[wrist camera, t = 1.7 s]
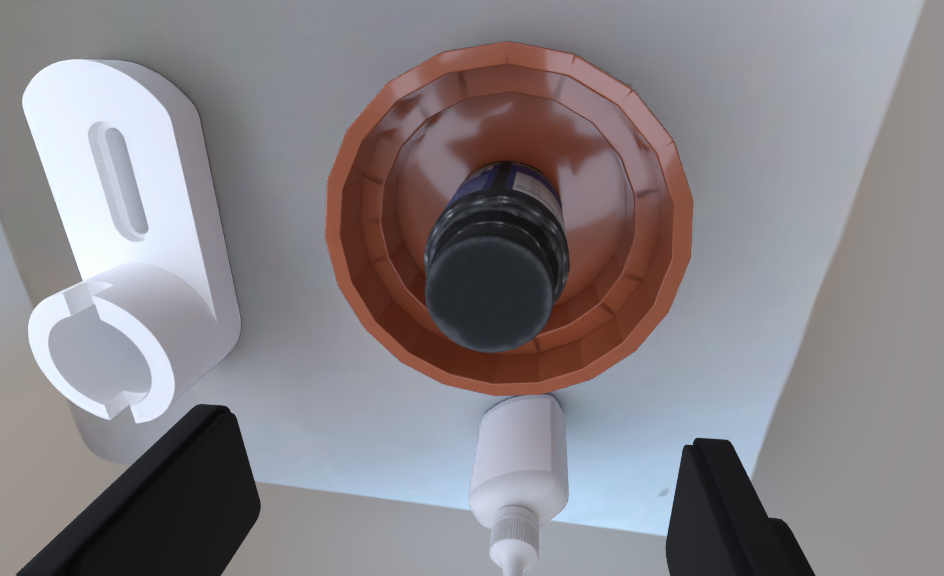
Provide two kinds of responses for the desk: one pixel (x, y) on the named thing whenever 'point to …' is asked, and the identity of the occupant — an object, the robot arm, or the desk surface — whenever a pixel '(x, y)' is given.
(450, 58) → the bowl
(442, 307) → the pill bottle
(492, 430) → the eye dropper bottle
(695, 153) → the desk surface
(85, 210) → the bracket
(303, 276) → the desk surface
